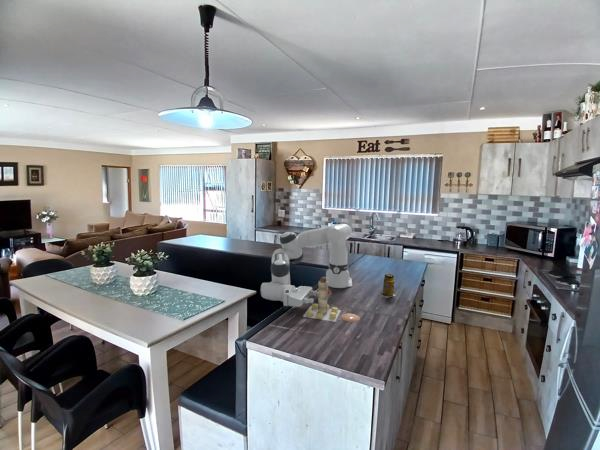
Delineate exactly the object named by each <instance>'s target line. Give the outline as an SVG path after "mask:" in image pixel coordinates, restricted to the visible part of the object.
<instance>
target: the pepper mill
mask: <svg viewBox="0 0 600 450" xmlns="http://www.w3.org/2000/svg"><path fill="white" fill-rule="evenodd" d="M317 284H318V288H317V290H318V297H317V304H318V312H320V313H323V315H326V314H327V305H328V300H327V296H328V288H329V286H328V282H327V280H326V276H322V277H320V279H319V280H318V283H317Z"/></svg>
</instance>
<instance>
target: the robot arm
mask: <svg viewBox="0 0 600 450" xmlns="http://www.w3.org/2000/svg"><path fill="white" fill-rule="evenodd" d="M352 231H353V230H352V227H351V226H350V225H349V224H346V223H338V224H334V225H333V224H332V225H329V226H324V227H318V228H314V229H309V230H308V229H307V230H305V231H302V232H300V233H297V232H294V231H285V232H284V233H282V234H281V235H280V237H279V242H280V244H281V245H280V246H281V247H282V248H277V249H275V250H274V251H273V253H272V255H271V265H270V272H271V281H270V282H262V283H261V285H260V289H259V291H260V296H261V297H262V298H263V299H265V300H268V301H275V302H276V301H279V302H282V304H283V306H284V307H288V306H289V307H295V308H296V307H297V308H300V307H302V306H303V305H304V304H314V302H315V298H313V297H311V296H314V297H317V298H318V292H316V290H313V287H312V286H309V285H307V286H306V285H304V286H303V285H300V286H298V287H296V286H295V285H292V284H291V275H290V274H291V273H290V269H291V267H290V265H291V264H299V263H301V262H302V261H303V260H304V257H305V256H304V252H303V250H302V248H311V247H319V246H320V247H321V246H324V245H328V246H329V263H328V269H327V270H326V273H325V278H326V280H327V282H328V287H330V288H336V289H345V288H349V287H350V288H351V287H353V281H352V280H353V279H352V277H350V272H349V270H348V269H349V265H348V256H349V255H348V253H349V252H348V249H347V244H346V241H347V240H348V239H350V237H351V236H352V233H353V232H352ZM310 297H311V298H310Z"/></svg>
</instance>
